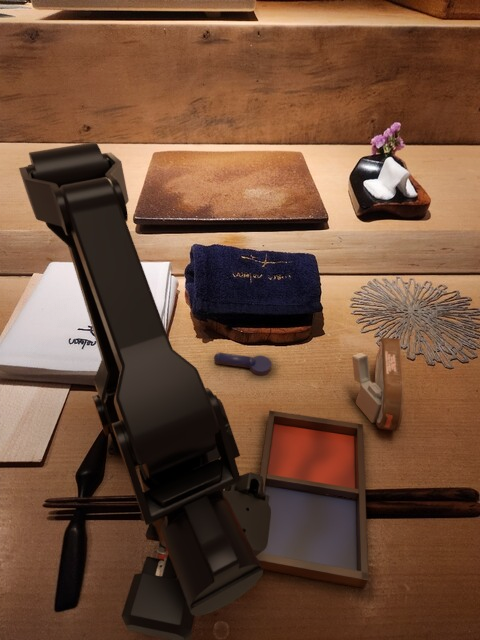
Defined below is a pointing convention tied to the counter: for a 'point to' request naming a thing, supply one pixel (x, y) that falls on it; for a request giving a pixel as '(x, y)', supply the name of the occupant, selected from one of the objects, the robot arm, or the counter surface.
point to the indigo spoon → (245, 362)
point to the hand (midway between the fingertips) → (187, 557)
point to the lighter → (366, 388)
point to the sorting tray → (315, 499)
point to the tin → (390, 383)
